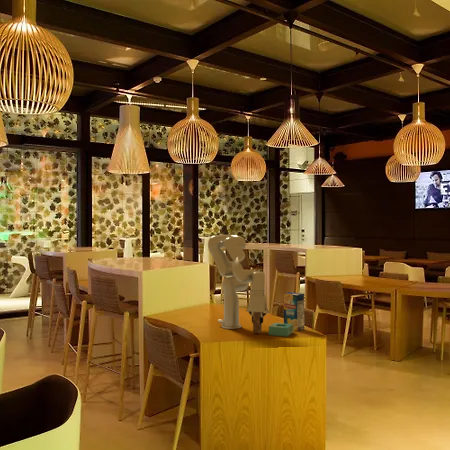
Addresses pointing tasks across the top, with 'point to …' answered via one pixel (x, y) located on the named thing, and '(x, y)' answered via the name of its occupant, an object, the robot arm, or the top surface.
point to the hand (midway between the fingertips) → (257, 322)
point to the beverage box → (294, 310)
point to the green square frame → (280, 329)
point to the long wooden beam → (256, 322)
